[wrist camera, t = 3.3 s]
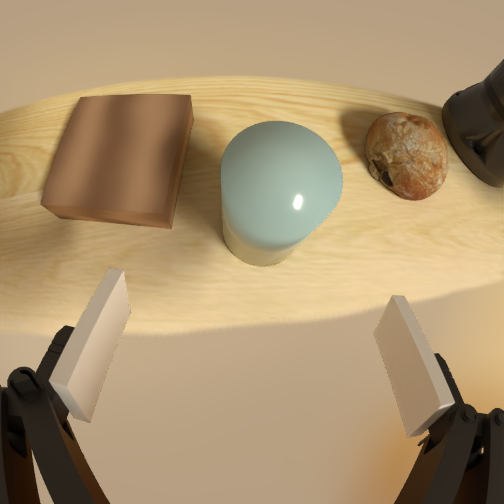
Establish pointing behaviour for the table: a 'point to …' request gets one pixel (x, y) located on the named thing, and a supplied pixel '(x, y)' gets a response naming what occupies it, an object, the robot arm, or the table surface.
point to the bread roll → (407, 155)
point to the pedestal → (121, 160)
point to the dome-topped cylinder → (276, 190)
